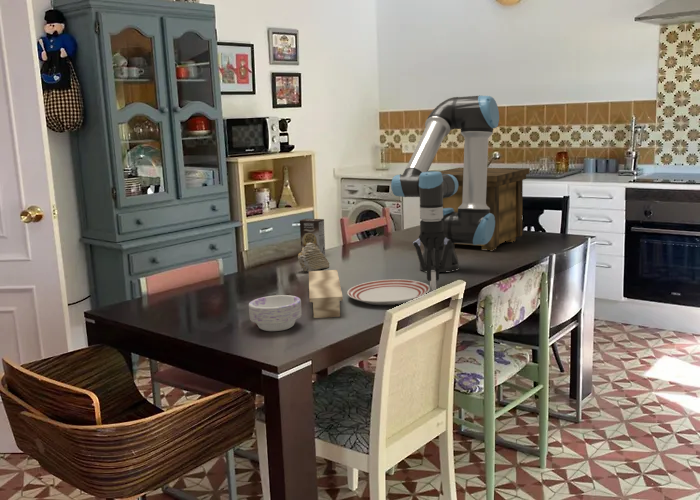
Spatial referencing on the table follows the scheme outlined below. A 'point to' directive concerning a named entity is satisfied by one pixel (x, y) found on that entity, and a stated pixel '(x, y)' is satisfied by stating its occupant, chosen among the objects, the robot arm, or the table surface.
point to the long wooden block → (325, 293)
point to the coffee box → (312, 233)
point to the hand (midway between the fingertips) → (433, 290)
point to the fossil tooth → (312, 258)
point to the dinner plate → (388, 291)
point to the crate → (497, 201)
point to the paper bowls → (275, 312)
